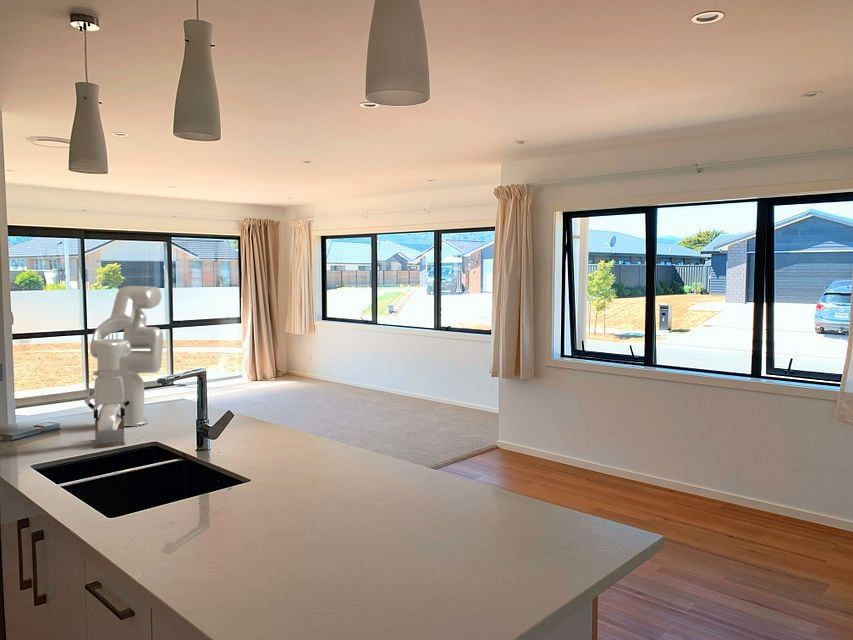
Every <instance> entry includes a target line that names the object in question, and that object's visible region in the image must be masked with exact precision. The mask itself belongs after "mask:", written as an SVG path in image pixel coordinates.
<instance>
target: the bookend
mask: <svg viewBox="0 0 853 640" xmlns="http://www.w3.org/2000/svg"><path fill="white" fill-rule="evenodd" d="M96 438H97V445H104V444H114V443H124V440H123V429H115V430H104V431H96Z"/></svg>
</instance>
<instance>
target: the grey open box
mask: <svg viewBox="0 0 853 640" xmlns="http://www.w3.org/2000/svg"><path fill="white" fill-rule="evenodd" d="M94 427H95V428H94V429H95V430H94V432H95V433H94V436H95V438H94V447H95V449H98V447H99V449H100V448H108V447H109V448H110V447H119V446H118V445H121V446H125V445H126V441H125V440H126V439H125V427H124V417H123V419H121V421H120V423H119V425H118V428H117V429H123V440H124V443H114V444H104V445H97V438H96V431H98V421H96V418H94Z"/></svg>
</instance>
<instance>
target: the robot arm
mask: <svg viewBox="0 0 853 640" xmlns="http://www.w3.org/2000/svg"><path fill="white" fill-rule="evenodd" d="M161 300H162V292H161V290H160V288H159V287H157V286H152V285H151V286H147V285H145V286H144V285H143V286H141V285H129V286H128V285H127V286H122V287H120V288H119V289H118V292H117V293H116V295H115V300H114V303H113V308H112V312H111V315H110V317H109V318H107V319H105V320H104V321H103V322H102V323H100V324H99V325H98V326H97V327H96V328H95V330H94V332H93V334H92V338H91V342H90V346H89V347H90V348H89V352H90V355H91V356H92V357H93V358H95V359H97V364H96V365H97V369H96V370H95V371H93V376H97V377H95V380H94V387H93V393H92V394H91V395H89V396H88V397H86V398H85V399H84V403H85V404H86V405H87V407H89V408H90V409H91V410H92V411H93V419H96V421H98V417H99V409H98V408H99V407H100V406H103V404H117V403H118V404H119V415H120V416H121V419H123V417H124V426H132V427H140V426H144V425H147V424H148V423H149V419H148V418H145V382H144V380H143V378H142V377H141V375H139V374H153V373H155V374H156V373H158V372H159V371H160V369H161V368H162V361H163V360H162V359H163V358H162V357H163V347H164V336H163V335H164V333H163V332H162V330H161V329H160V328H159V327H156V326H147V316H146V314H145V312H144V311H143V310H149V309H154V308H155V307H157V306H158V305H159V304H160V303H161ZM121 330H123V336H122V337H123V338H121V339H118V338H115V339H113V338H110V339H109V338H106V337H108V336H109V335H111V334H113V333H117V332H118V331H121ZM132 349H133V350H132ZM135 349H137V350H135ZM140 349H141V350H140ZM142 349H143V350H142ZM145 349H146V350H145ZM147 349H148V350H147ZM91 400H93V401H94V404H93V403H92V402H91ZM146 423H147V424H146ZM143 424H144V425H143ZM139 425H140V426H139Z"/></svg>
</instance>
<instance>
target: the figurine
mask: <svg viewBox="0 0 853 640" xmlns="http://www.w3.org/2000/svg"><path fill="white" fill-rule="evenodd" d="M120 421H121V416H120V404H119V403H117V404H103V405H101V408H100V410H99V413H98V431H104V430H115V429H117V428H118V425H119V423H120Z"/></svg>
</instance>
